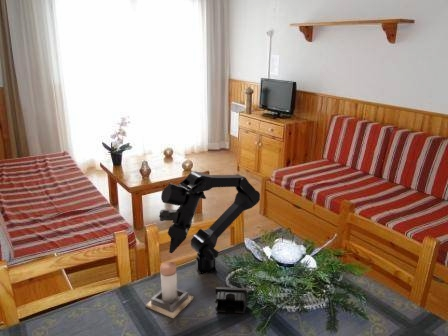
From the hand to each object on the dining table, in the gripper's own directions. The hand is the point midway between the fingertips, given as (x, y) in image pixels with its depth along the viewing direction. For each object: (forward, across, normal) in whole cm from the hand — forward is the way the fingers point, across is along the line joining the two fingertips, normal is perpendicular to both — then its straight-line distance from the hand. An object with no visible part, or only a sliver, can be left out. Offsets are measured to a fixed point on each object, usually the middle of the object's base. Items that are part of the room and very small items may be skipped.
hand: (172, 248), depth 132 cm
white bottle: (+14, +9, +6) cm, 17 cm away
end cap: (+8, +11, +25) cm, 28 cm away
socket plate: (+14, +9, +6) cm, 18 cm away
